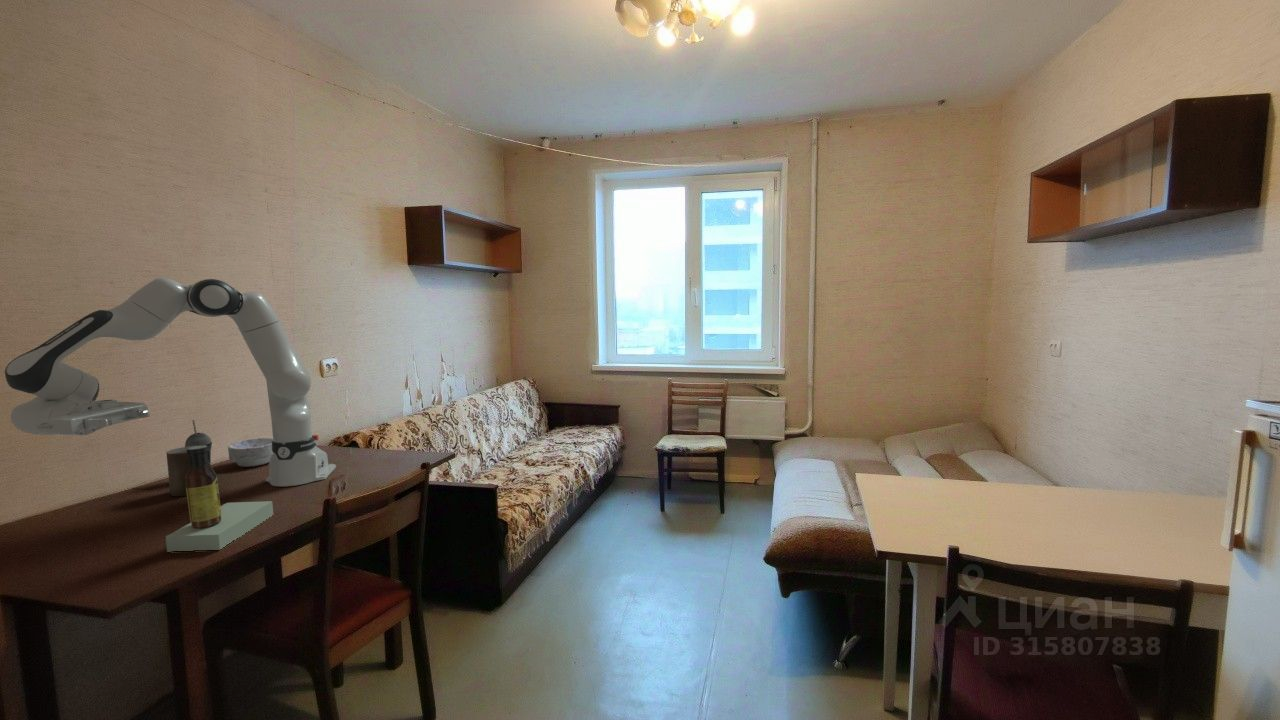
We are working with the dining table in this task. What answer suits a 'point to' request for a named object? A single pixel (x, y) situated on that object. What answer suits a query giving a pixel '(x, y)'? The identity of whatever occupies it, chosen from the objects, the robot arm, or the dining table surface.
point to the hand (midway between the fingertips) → (128, 417)
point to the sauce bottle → (202, 489)
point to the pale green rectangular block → (221, 527)
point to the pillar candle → (178, 470)
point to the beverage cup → (199, 441)
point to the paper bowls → (251, 452)
